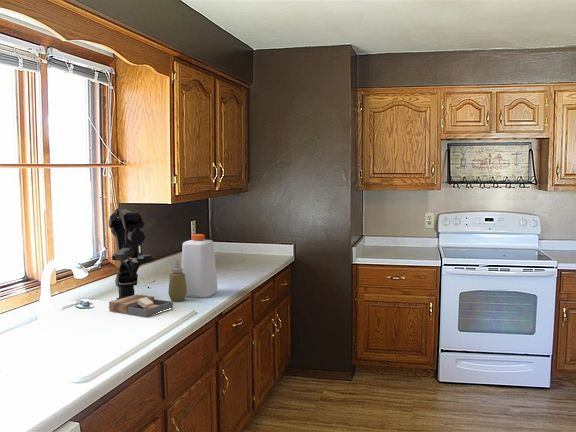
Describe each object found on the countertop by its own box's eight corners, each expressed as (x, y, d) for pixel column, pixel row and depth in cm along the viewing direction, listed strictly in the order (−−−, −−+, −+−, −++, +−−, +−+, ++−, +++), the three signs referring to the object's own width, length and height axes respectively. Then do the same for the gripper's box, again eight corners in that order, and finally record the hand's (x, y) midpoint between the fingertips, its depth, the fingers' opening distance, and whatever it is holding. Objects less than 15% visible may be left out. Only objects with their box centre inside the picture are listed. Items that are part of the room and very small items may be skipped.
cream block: (137, 303, 242) (138, 299, 241) (144, 301, 246) (146, 296, 245) (144, 308, 240) (146, 304, 239) (152, 306, 244) (153, 302, 243)
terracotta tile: (154, 308, 238) (154, 312, 238) (162, 305, 242) (162, 310, 242) (146, 306, 240) (146, 311, 240) (153, 304, 244) (153, 309, 244)
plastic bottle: (207, 299, 264) (206, 237, 262) (176, 297, 268) (175, 236, 266) (220, 292, 278) (219, 233, 276) (191, 290, 283) (190, 232, 280)
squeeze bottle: (178, 303, 256) (177, 262, 254) (164, 301, 260) (163, 260, 259) (190, 299, 263) (190, 259, 261) (177, 297, 267) (176, 258, 265)
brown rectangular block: (109, 311, 242) (109, 301, 242) (136, 303, 256) (136, 294, 256) (127, 314, 237) (127, 304, 237) (154, 305, 251) (154, 296, 251)
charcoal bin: (127, 314, 237) (127, 307, 237) (154, 306, 251) (154, 299, 251) (146, 317, 232) (146, 309, 232) (172, 308, 246) (172, 301, 246)
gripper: (101, 242, 248) (102, 278, 249) (135, 245, 239) (135, 282, 240) (121, 239, 258) (122, 274, 259) (153, 241, 249) (154, 278, 250)
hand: (132, 277), depth 252 cm, fingers closed
